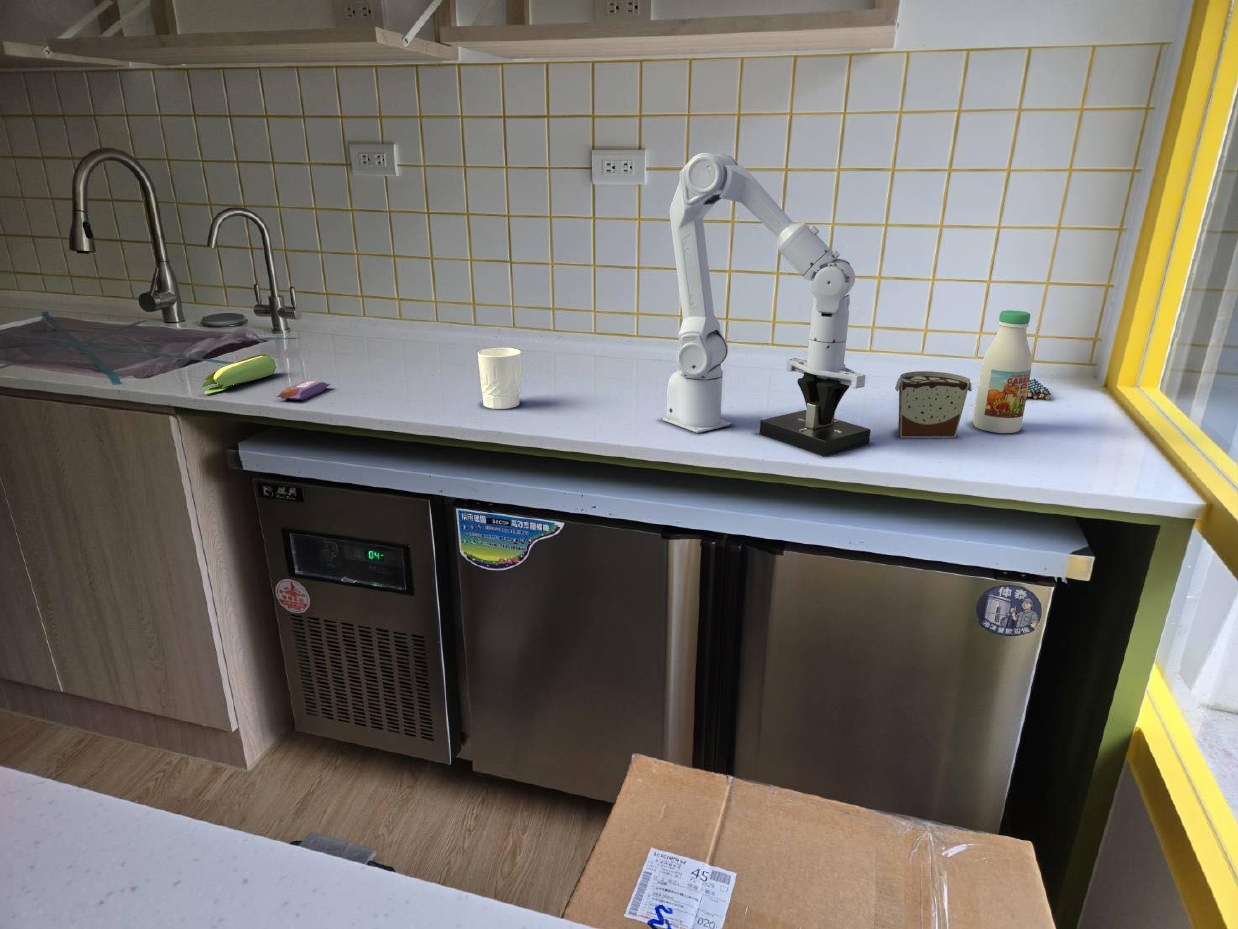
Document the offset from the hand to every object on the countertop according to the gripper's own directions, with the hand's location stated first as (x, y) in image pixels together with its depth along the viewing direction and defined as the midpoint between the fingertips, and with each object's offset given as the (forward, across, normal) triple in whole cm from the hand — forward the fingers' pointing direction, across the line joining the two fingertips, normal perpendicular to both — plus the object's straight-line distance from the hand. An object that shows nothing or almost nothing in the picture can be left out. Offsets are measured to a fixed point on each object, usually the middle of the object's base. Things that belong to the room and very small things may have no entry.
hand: (819, 422), depth 133 cm
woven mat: (+3, -1, -57) cm, 57 cm away
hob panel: (+3, +1, 0) cm, 3 cm away
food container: (+3, -7, -18) cm, 20 cm away
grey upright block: (+1, 0, 0) cm, 1 cm away
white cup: (+3, +49, +33) cm, 59 cm away
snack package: (+3, +76, +61) cm, 98 cm away
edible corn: (+3, +92, +69) cm, 115 cm away
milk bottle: (+3, -13, -31) cm, 34 cm away
